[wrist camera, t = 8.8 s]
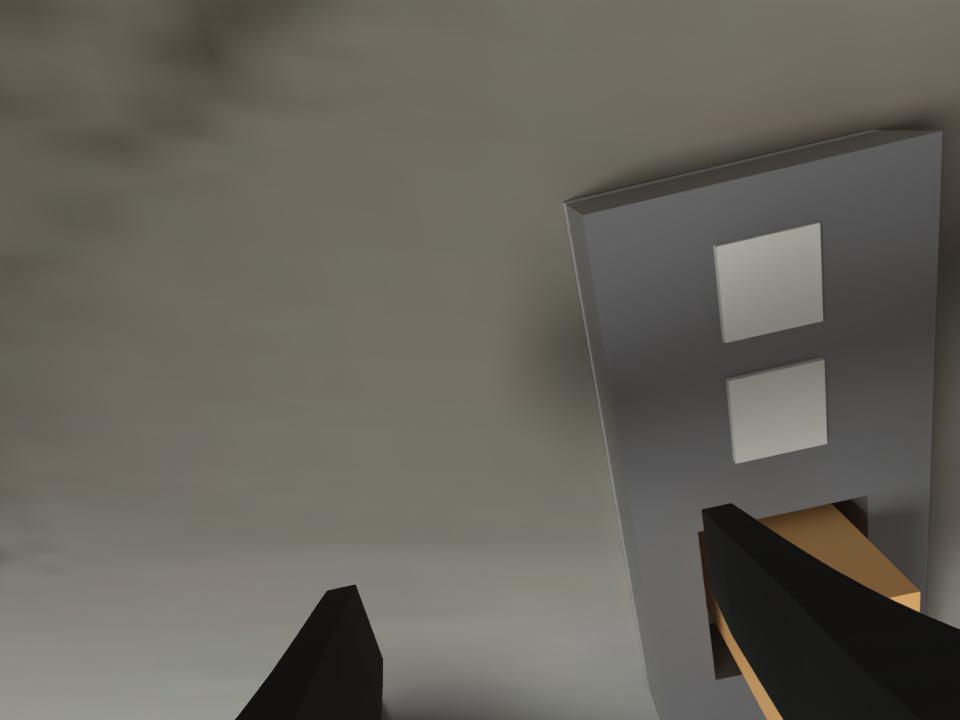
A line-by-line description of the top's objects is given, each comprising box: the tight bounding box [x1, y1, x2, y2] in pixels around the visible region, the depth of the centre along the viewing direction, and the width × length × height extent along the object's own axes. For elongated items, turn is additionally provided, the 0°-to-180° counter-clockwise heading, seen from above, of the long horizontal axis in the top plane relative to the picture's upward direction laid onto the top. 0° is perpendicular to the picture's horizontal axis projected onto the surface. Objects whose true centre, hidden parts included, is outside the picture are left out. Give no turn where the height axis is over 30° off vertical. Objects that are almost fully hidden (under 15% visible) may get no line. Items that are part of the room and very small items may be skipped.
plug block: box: [698, 503, 920, 720], centre depth 21 cm, size 4×5×6 cm
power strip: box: [563, 130, 943, 720], centre depth 21 cm, size 10×20×3 cm, turn 13°
